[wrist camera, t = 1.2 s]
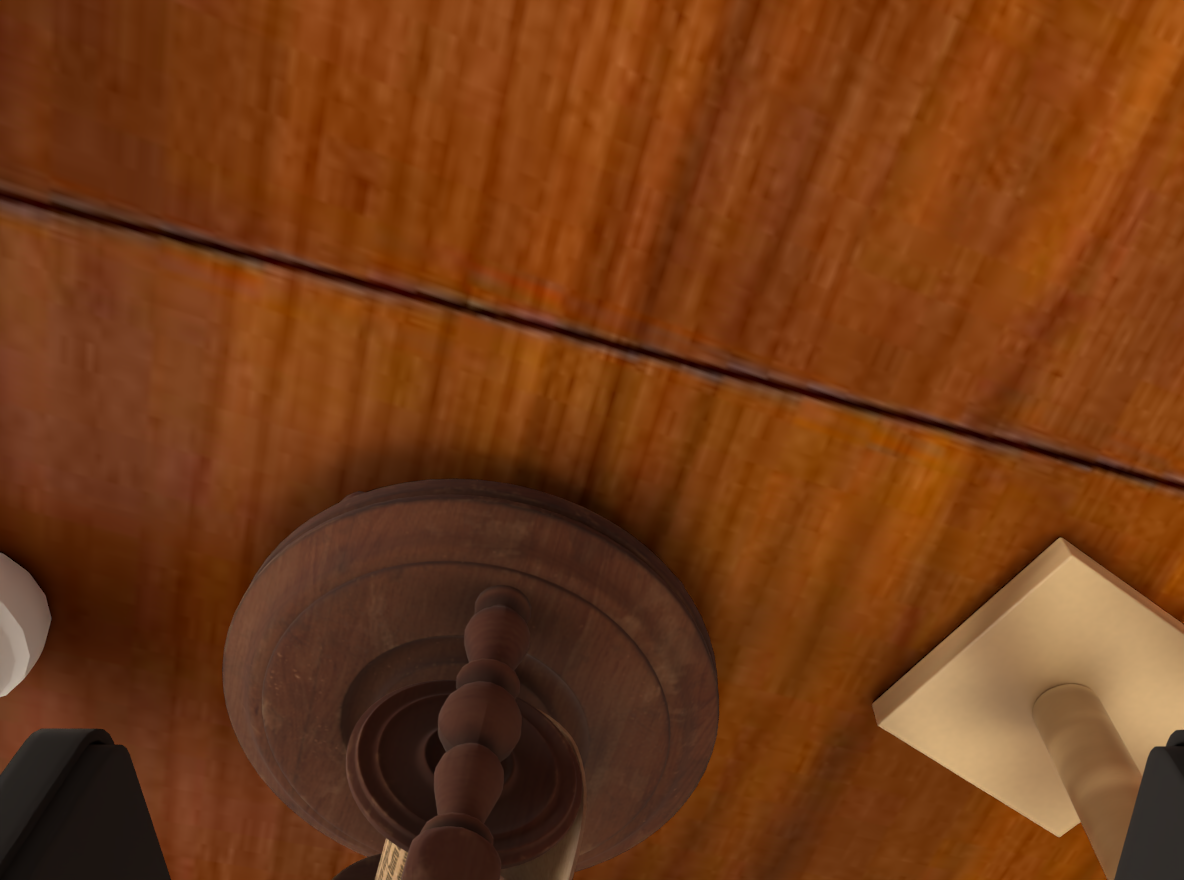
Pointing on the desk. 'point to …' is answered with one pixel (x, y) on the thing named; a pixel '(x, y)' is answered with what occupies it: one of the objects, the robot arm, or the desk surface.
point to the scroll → (471, 682)
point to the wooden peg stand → (1051, 697)
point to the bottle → (20, 623)
